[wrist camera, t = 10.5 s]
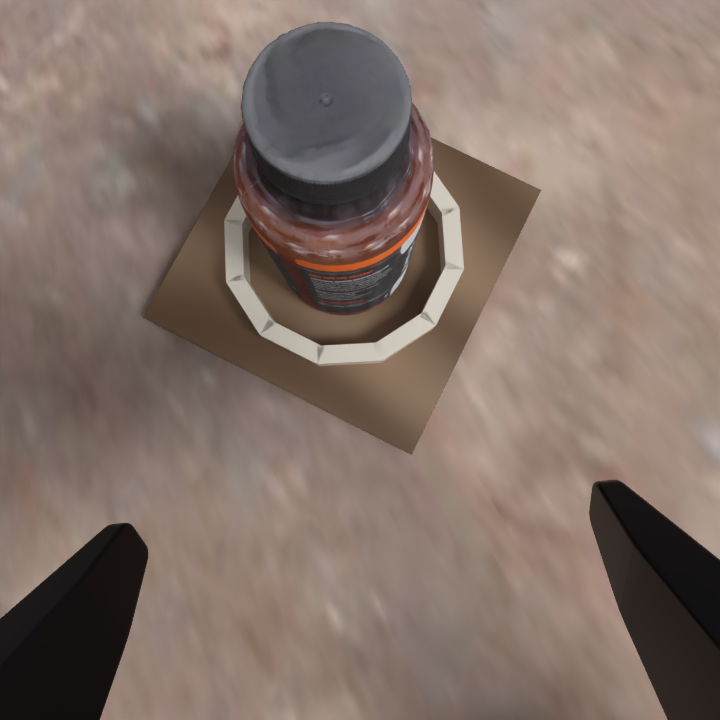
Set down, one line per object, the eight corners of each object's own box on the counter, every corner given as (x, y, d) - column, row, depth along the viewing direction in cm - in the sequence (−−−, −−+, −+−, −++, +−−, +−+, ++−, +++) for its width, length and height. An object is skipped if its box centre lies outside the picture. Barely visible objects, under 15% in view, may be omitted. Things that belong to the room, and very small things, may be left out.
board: (409, 452, 22) (411, 454, 21) (152, 320, 22) (142, 317, 21) (533, 199, 23) (541, 190, 22) (285, 80, 24) (282, 66, 23)
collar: (394, 404, 21) (396, 404, 20) (192, 301, 22) (182, 295, 20) (493, 205, 22) (501, 193, 21) (296, 110, 22) (293, 94, 21)
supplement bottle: (432, 272, 22) (510, 134, 10) (327, 343, 21) (290, 279, 10) (361, 171, 22) (362, -67, 11) (257, 239, 22) (146, 68, 11)
